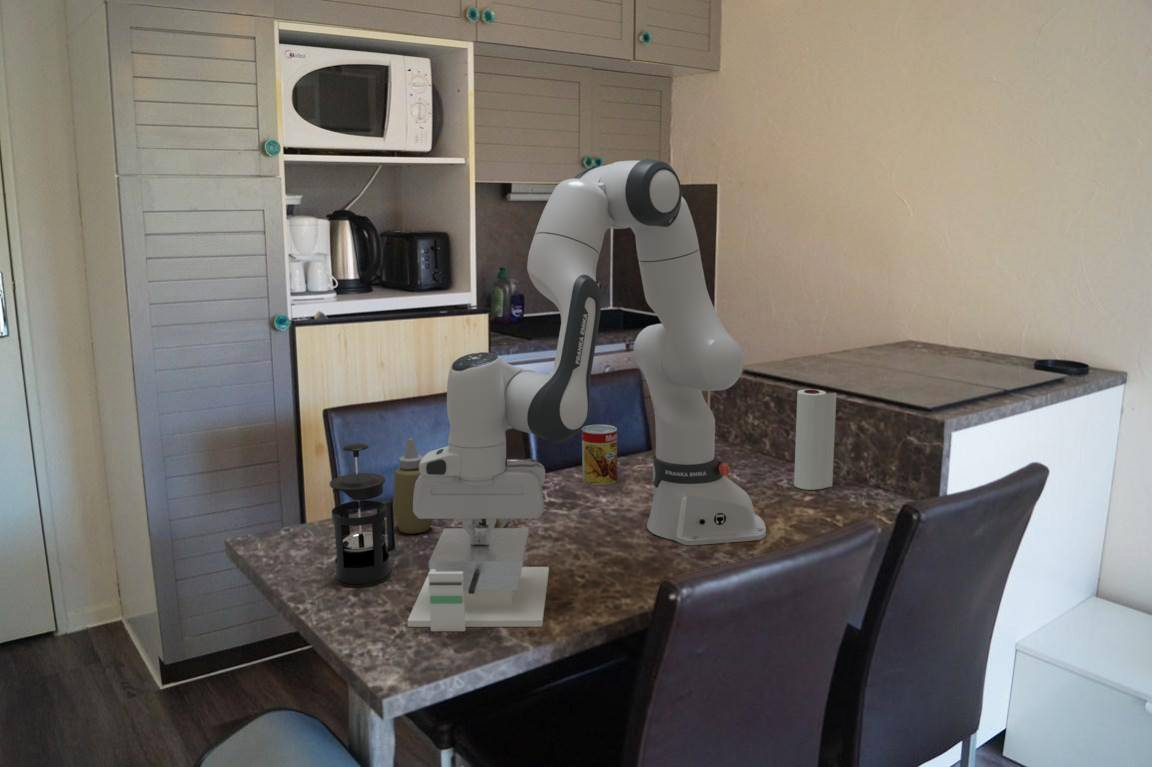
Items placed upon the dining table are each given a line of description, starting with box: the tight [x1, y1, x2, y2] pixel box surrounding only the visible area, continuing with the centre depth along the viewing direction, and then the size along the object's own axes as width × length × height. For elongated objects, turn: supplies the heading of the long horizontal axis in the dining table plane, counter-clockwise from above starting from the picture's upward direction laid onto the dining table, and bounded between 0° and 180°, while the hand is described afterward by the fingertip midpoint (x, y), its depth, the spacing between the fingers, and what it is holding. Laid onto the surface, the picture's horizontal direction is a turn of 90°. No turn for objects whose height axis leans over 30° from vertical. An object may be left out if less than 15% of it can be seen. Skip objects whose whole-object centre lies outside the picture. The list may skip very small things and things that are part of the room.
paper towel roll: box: [793, 388, 837, 491], centre depth 194 cm, size 7×6×21 cm
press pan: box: [428, 527, 530, 594], centre depth 139 cm, size 14×19×5 cm
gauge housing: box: [407, 566, 550, 632], centre depth 141 cm, size 20×22×9 cm
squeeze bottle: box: [392, 437, 433, 535], centre depth 172 cm, size 8×8×18 cm
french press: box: [329, 442, 396, 589], centre depth 150 cm, size 12×9×23 cm
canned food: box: [581, 424, 618, 486], centre depth 202 cm, size 8×8×12 cm
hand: (480, 543), depth 141 cm, fingers closed, pressing on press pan
